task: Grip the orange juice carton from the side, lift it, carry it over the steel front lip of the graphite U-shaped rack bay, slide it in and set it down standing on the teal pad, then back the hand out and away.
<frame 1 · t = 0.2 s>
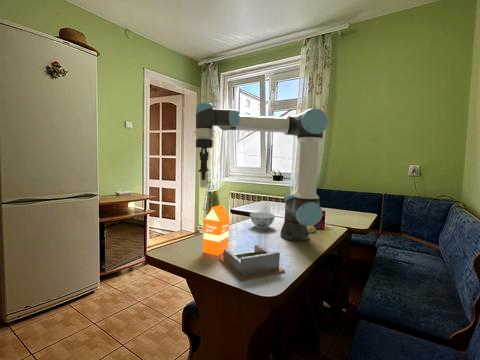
hand: (203, 186, 114), 28 cm above the table, tool pointing down, fingers open, 13 cm apart
orange juice: (215, 251, 110), on the table
chinaware: (261, 227, 152), on the table
rack bay: (249, 265, 96), on the table
bread roll: (307, 231, 148), on the table
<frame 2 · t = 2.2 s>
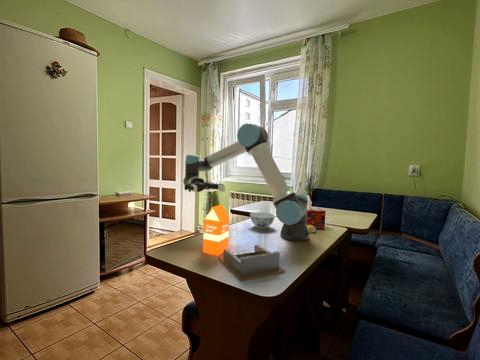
hand: (210, 189, 116), 26 cm above the table, tool horizontal, fingers open, 13 cm apart
nothing on the table moved.
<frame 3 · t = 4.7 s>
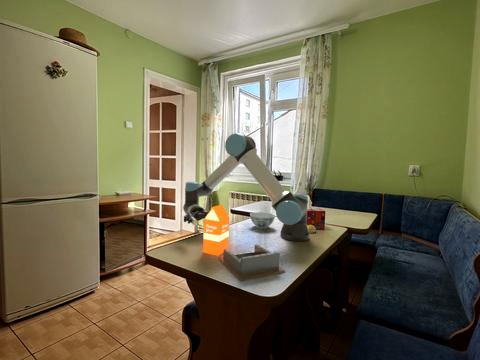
hand: (209, 221, 117), 11 cm above the table, tool horizontal, fingers open, 13 cm apart
nothing on the table moved.
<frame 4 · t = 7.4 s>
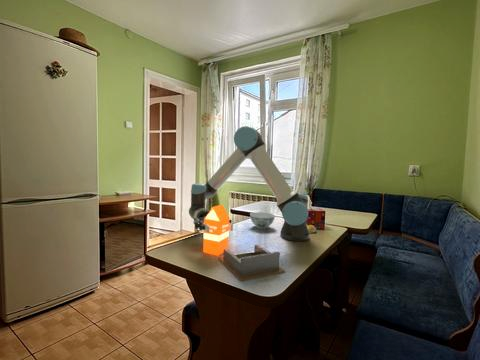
hand: (220, 228, 105), 11 cm above the table, tool horizontal, fingers closed on orange juice, 10 cm apart
orange juice: (215, 251, 110), on the table, touching gripper
everything else where it was.
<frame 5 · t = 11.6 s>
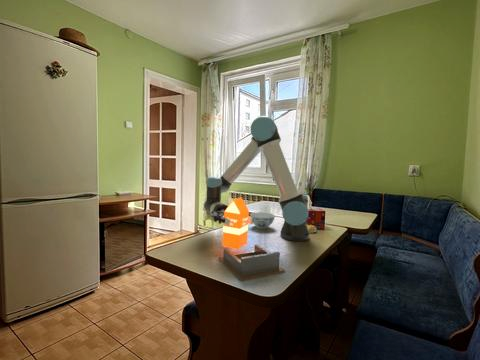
hand: (240, 221, 103), 15 cm above the table, tool horizontal, fingers closed on orange juice, 10 cm apart
orange juice: (235, 245, 107), point 4 cm above the table, touching gripper
everything else where it was.
when the fingers open (13 cm above the table, at t = 16.1 s): orange juice stays where it is, resting on rack bay.
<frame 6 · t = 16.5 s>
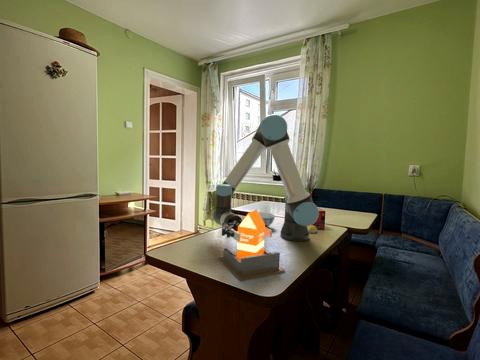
hand: (255, 235, 92), 13 cm above the table, tool horizontal, fingers open, 13 cm apart
orange juice: (250, 263, 96), point 1 cm above the table, touching rack bay
everything else where it was.
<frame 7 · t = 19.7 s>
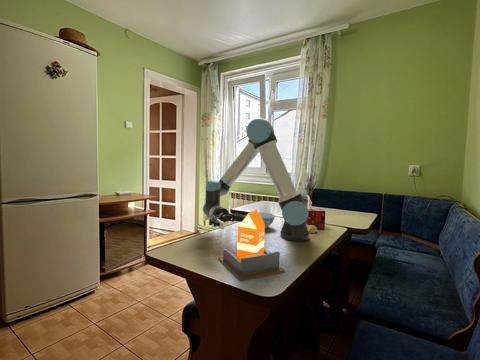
hand: (238, 224, 104), 13 cm above the table, tool horizontal, fingers open, 13 cm apart
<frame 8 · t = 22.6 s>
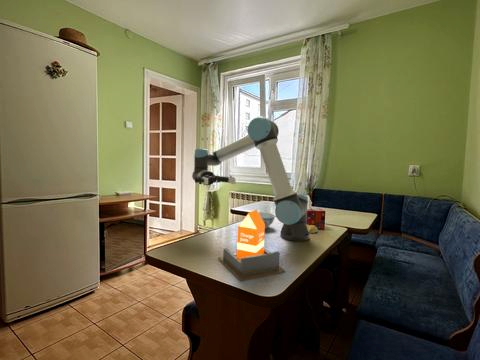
hand: (221, 181, 115), 30 cm above the table, tool horizontal, fingers open, 13 cm apart
at the end: orange juice inside the target area on the rack bay (0.1 cm from its centre), point 0.8 cm above the rack bay's base; orange juice tilted 0°; the gripper is holding nothing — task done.
